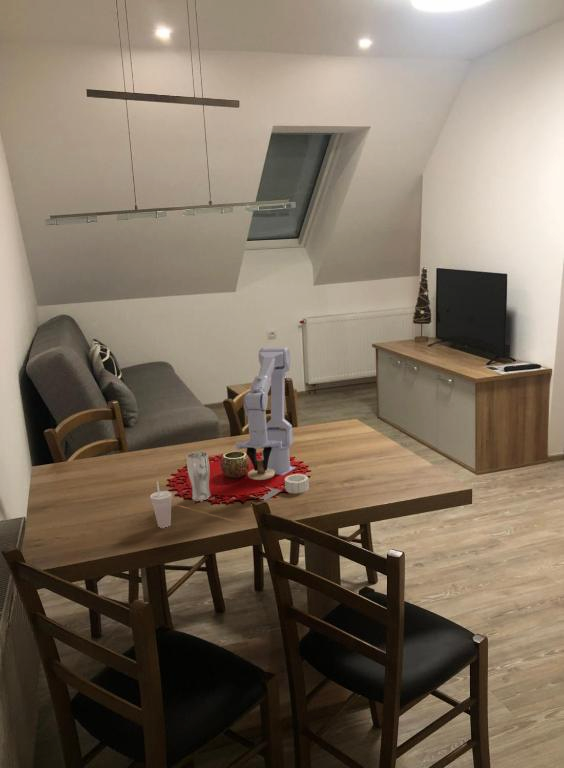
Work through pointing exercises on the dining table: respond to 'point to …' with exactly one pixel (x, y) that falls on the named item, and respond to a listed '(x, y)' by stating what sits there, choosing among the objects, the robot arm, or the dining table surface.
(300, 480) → the bowl
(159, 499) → the smoothie
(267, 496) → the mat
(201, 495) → the beer glass
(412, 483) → the dining table surface
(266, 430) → the robot arm
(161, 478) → the dining table surface
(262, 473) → the lid
